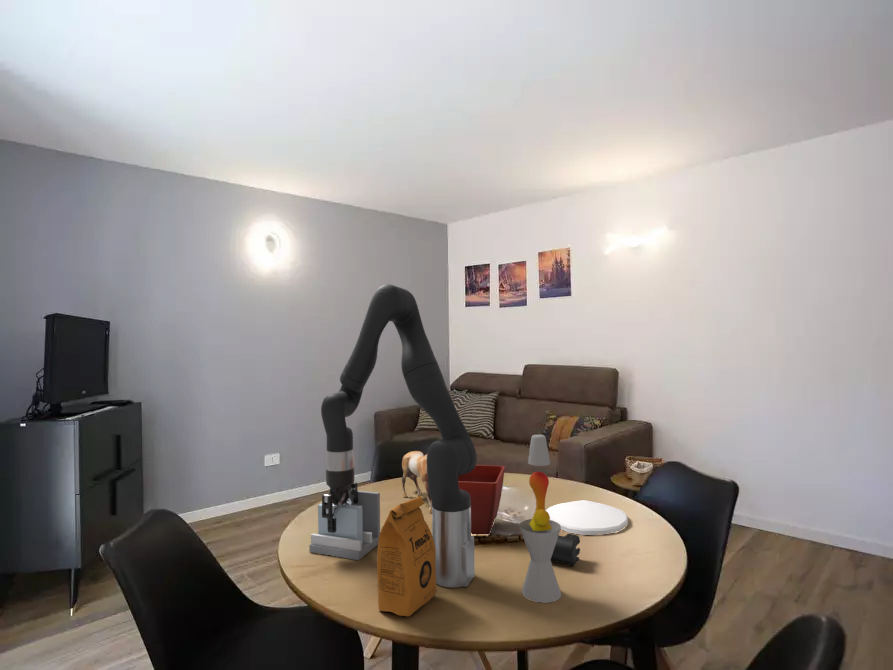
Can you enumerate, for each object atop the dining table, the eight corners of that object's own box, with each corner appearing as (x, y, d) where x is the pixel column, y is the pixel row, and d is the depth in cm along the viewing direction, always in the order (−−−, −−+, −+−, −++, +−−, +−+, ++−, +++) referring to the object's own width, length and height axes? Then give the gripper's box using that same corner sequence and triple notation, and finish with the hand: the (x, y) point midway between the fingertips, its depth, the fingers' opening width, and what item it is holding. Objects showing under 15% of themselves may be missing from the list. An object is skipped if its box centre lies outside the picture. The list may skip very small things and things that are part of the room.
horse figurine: (452, 514, 168) (451, 450, 168) (430, 518, 164) (429, 453, 164) (412, 489, 195) (411, 435, 195) (393, 493, 192) (392, 437, 192)
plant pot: (430, 538, 148) (429, 479, 148) (446, 515, 166) (445, 463, 166) (497, 543, 143) (496, 482, 143) (506, 520, 162) (505, 465, 162)
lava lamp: (517, 584, 120) (514, 432, 120) (555, 582, 120) (552, 431, 120) (525, 604, 110) (522, 440, 111) (567, 602, 111) (564, 438, 111)
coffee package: (443, 598, 114) (442, 497, 114) (408, 624, 103) (406, 514, 104) (408, 586, 119) (407, 490, 119) (371, 610, 109) (369, 505, 109)
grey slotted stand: (380, 542, 145) (379, 492, 145) (358, 560, 134) (357, 505, 134) (334, 536, 150) (333, 487, 150) (309, 552, 139) (308, 500, 139)
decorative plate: (589, 528, 143) (528, 505, 164) (589, 543, 143) (528, 518, 164) (646, 511, 157) (583, 491, 178) (646, 525, 157) (584, 503, 178)
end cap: (534, 562, 132) (533, 535, 132) (544, 552, 138) (544, 526, 138) (572, 571, 126) (572, 543, 126) (581, 560, 132) (581, 533, 132)
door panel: (362, 543, 140) (362, 506, 140) (357, 547, 137) (356, 509, 137) (324, 538, 144) (324, 501, 144) (318, 542, 141) (317, 505, 141)
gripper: (337, 474, 132) (338, 538, 132) (365, 461, 146) (366, 519, 145) (312, 471, 135) (313, 534, 135) (342, 459, 148) (343, 516, 148)
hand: (340, 526), depth 140 cm, fingers open, 8 cm apart
